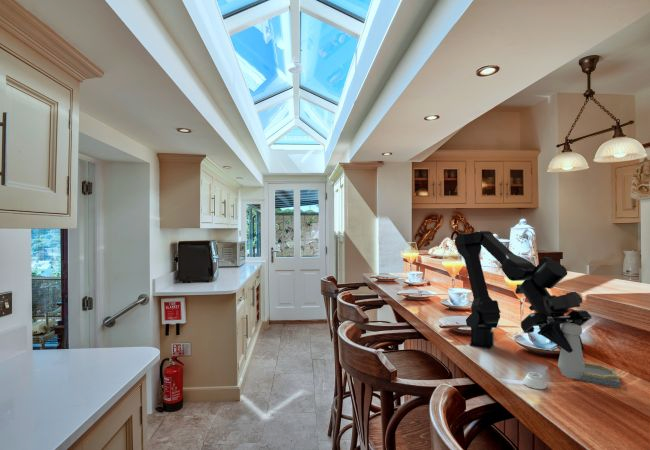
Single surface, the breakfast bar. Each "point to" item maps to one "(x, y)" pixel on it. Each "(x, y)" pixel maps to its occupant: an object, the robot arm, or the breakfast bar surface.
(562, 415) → the breakfast bar surface
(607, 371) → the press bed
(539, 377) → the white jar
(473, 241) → the robot arm
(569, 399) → the breakfast bar surface
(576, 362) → the salt shaker
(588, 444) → the breakfast bar surface
